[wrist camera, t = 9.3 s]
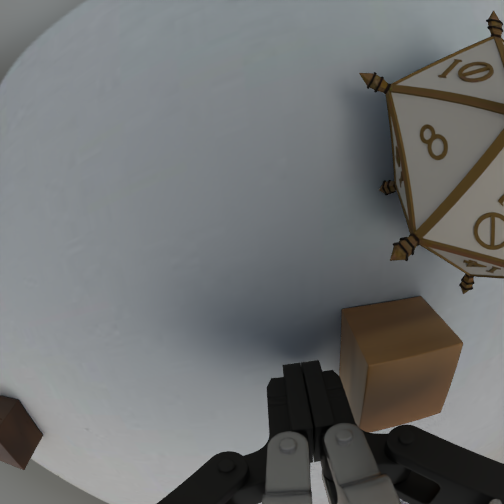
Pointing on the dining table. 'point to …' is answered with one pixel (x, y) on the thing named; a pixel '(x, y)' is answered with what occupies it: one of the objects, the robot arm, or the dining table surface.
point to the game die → (451, 156)
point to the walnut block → (16, 433)
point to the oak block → (396, 362)
